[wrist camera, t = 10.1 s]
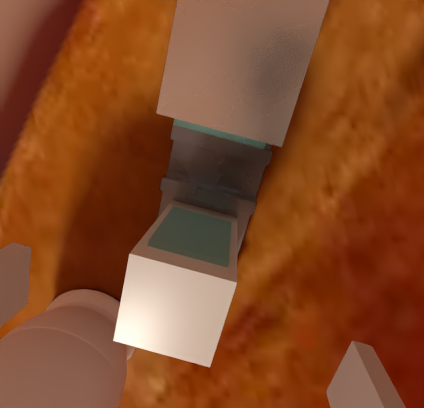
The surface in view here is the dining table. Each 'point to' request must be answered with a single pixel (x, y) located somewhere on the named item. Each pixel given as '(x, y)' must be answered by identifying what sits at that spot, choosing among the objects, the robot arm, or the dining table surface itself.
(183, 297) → the block
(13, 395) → the jar
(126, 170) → the dining table surface
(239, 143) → the rail
